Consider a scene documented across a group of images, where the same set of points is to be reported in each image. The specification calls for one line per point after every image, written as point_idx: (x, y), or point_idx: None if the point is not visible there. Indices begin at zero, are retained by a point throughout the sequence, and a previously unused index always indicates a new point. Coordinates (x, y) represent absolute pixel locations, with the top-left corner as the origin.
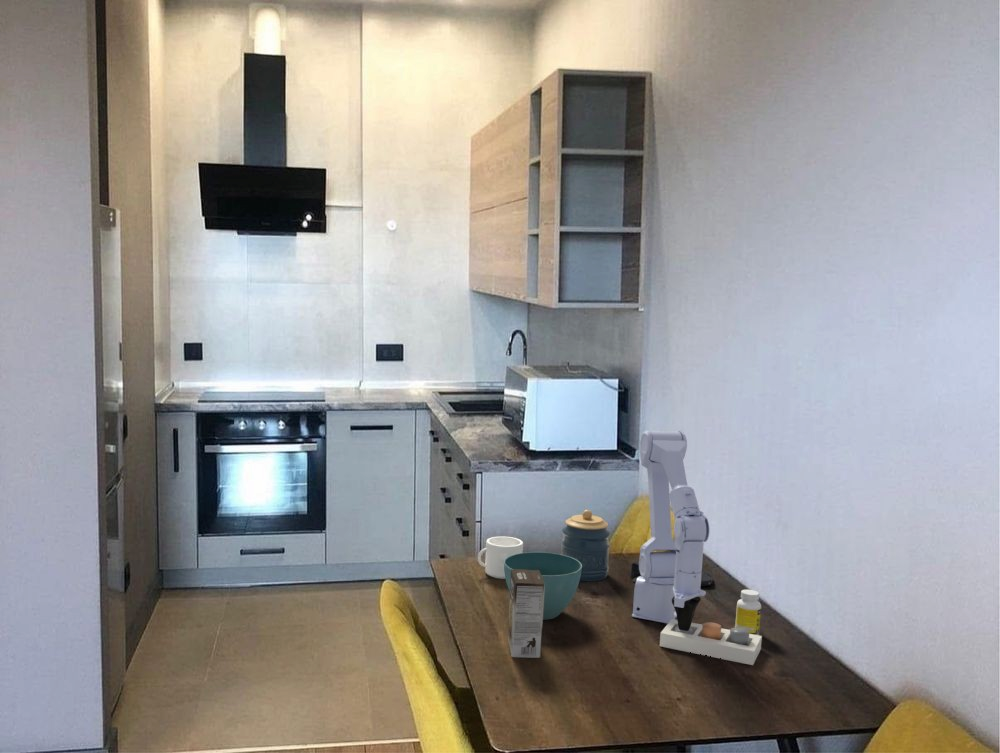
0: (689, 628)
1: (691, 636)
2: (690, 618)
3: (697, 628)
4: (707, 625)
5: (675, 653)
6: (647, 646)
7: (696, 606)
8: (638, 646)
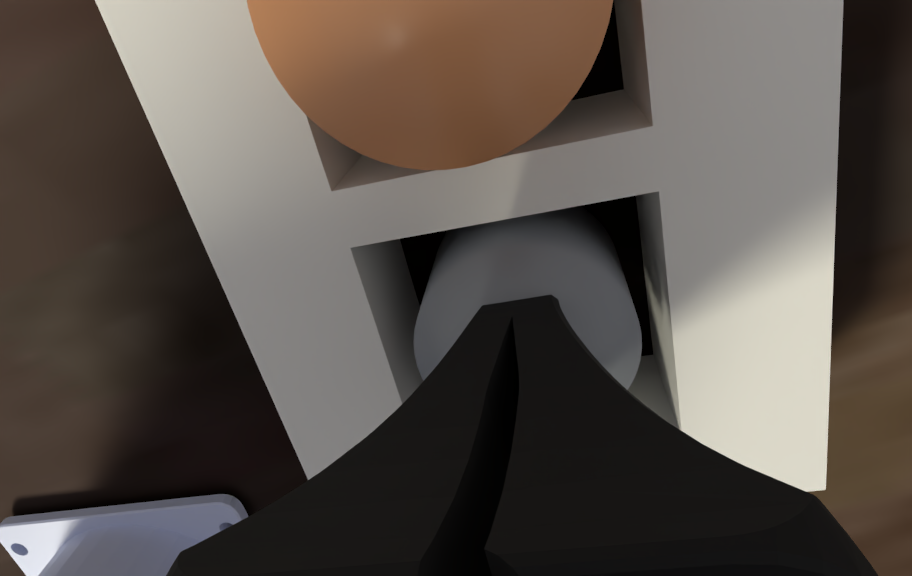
0: (499, 306)
1: (729, 181)
2: (608, 376)
3: (377, 241)
4: (483, 63)
5: (881, 214)
6: (834, 460)
7: (397, 489)
8: (876, 507)
